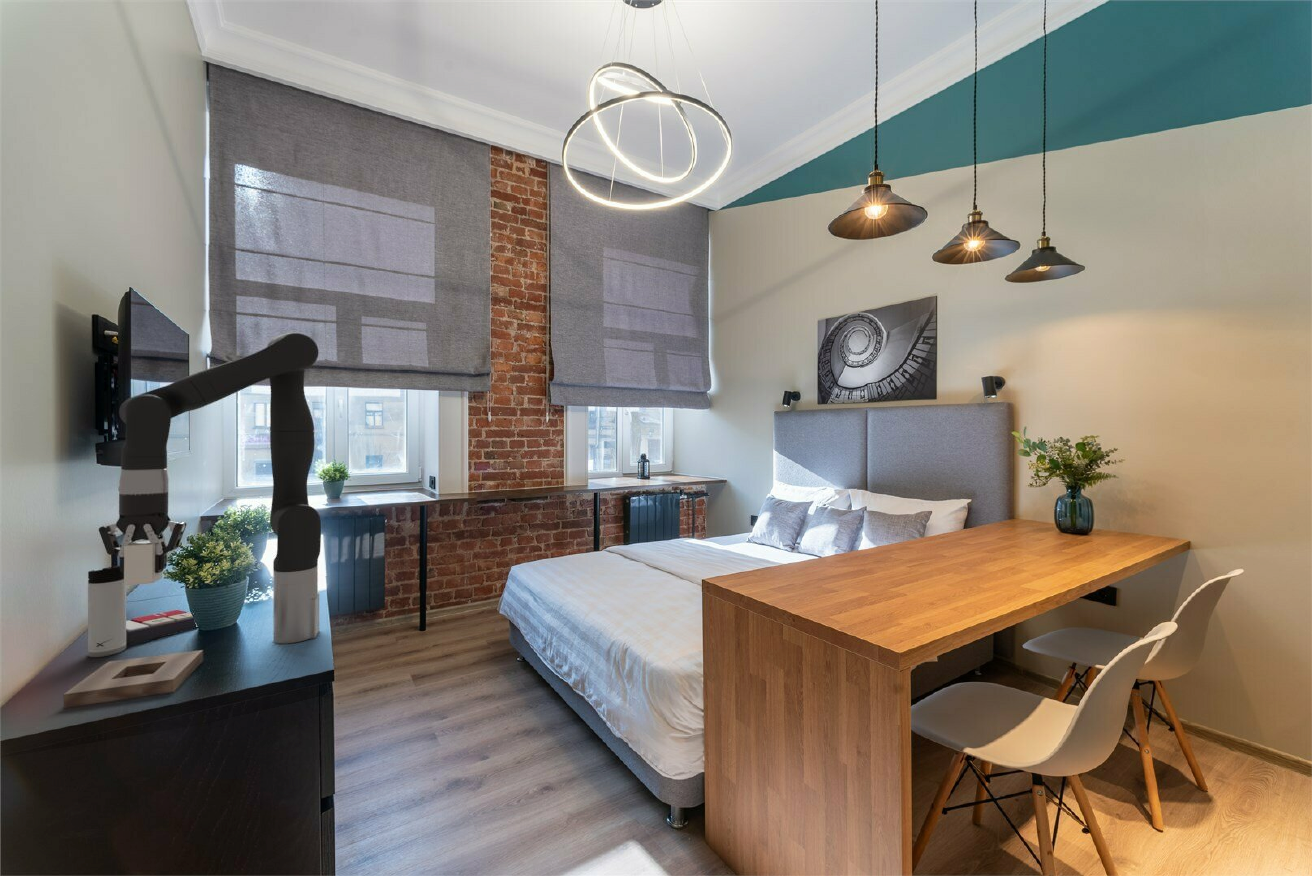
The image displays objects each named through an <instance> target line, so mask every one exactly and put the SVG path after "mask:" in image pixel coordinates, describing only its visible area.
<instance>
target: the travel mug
mask: <svg viewBox="0 0 1312 876" xmlns="http://www.w3.org/2000/svg"><path fill="white" fill-rule="evenodd" d="M87 578H88V579H87V585H88V586H87V648H88V649H87V655H88V657H89V658H102V657H107V656H112V655H113V656H114V655H116V654H119V653H121V652H123V651H125V650H126V649H127V646H126V621H127V585H124V575H123V572H120V565H116V566H115V565H114V566H109V567H104V568H102V569H98V570H89V571H88V572H87Z"/></svg>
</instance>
